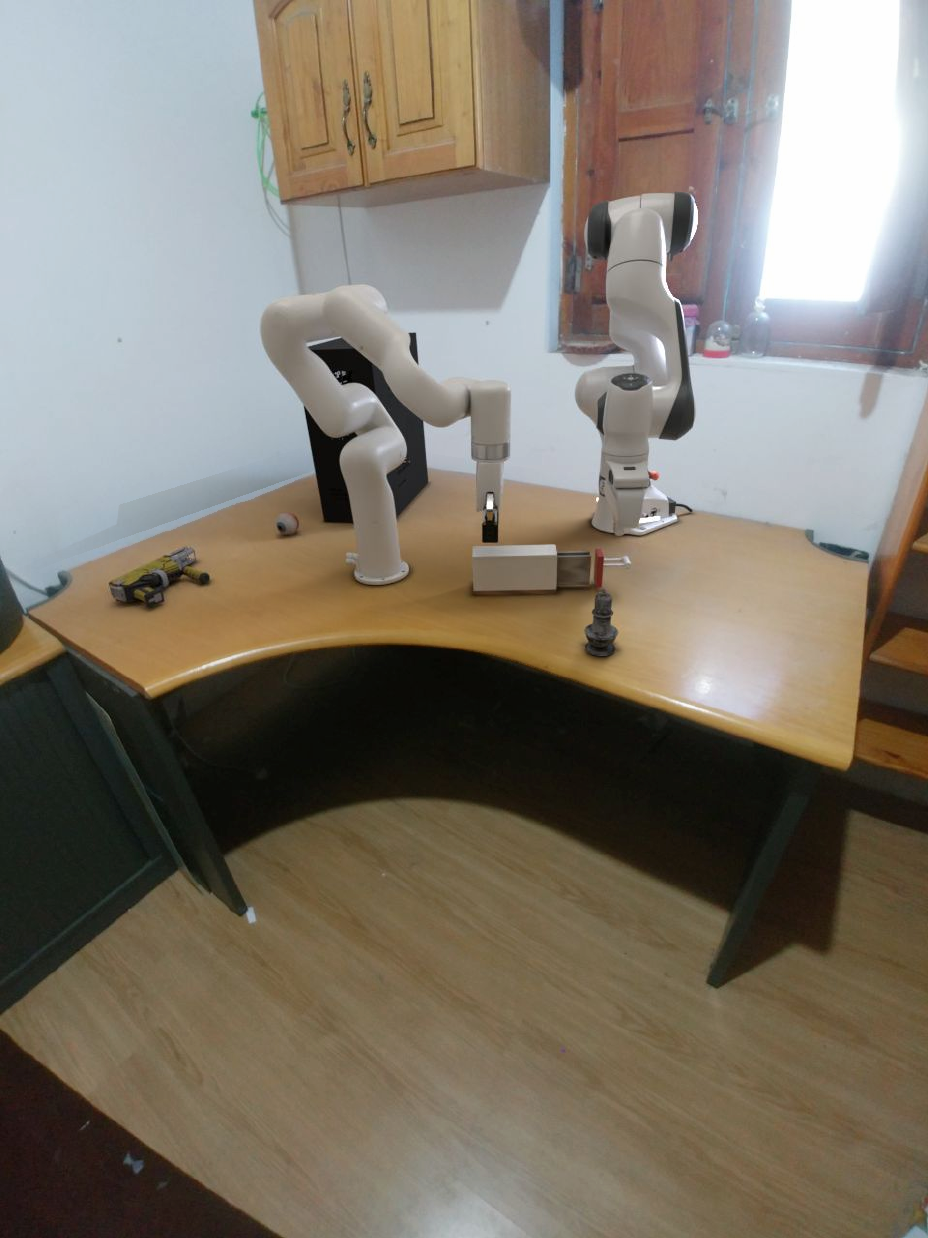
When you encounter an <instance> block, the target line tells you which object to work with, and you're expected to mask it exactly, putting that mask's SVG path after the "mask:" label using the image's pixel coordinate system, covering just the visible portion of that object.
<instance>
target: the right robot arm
mask: <svg viewBox="0 0 928 1238" xmlns="http://www.w3.org/2000/svg"><path fill="white" fill-rule="evenodd" d="M695 201H696V200H695V198H694V196H693V195H692V194H691V193H689V192H684V191H675V192H674V193H671V192H651V193H650V192H649V193H641V195H640V194H639V195H633V196H627V197H623V198H618V199H615V200H611V201H609V199H607V200H604V201H601V202H598V203H596V204H594V205H593V206H592V208H590V209H589V211H588V216H587V218H586V221H585V223H584V229H583V239H584V244H585V247H586V249H587V254H588V255H589V256H590V257H591V258H592V259H593V260H597V261H602V262H607V264H606V273H605V274H606V275H605V298H606V305H607V307H608V309H609V324H608V325H609V326H608V328H609V329H608V334H609V338H610V340H611V342H612V343H613V344H615V345H616V346H618V347H619V348H621V349H623V350H624V351H627V352H629V353H630V354H631V355H632V357H633V363H634V364H631V365H619V366H615V365H614V366H602V367H598V368H594V369H590V370H587V371H584V372H583V373H582V374H581V375H580V377H579V378H578V379H577V382H576V384H575V388H574V389H575V390H574V400H575V403H576V405H577V407H578V409H579V410H580V412H582V414H583V415H585V416H586V417H588V418H589V419H590V420H591V421H592V422H593V424H594V426H595V428H596V429H597V431H598V434H599V436H600V437H599V438H600V443H601V450H600V464H599V465H600V466H599V474H598V492H599V493H598V497H596V507H595V511H594V514H593V517H592V520H591V525H592V526H593V527H594V528H595V529H597V530H599V531H601V532H605V533H611V534H614V535H615V536H617V537H618V536H619V537H621V536H623V535H625V534H626V535H632V536H633V535H634V536H645V535H646V534H650V533H652V532H654V531H657V530H660V529H662V528H665V527H668V526H670V525H672V524H675V523H677V522H678V516H677V515H676V507H679V508H680V507H681V508H684V509H686V510H687V511H688V512H690V513H692V512H693V511H694V510H693V509H692V508H691V507H689V506H688V505H687V504H684V503H677V501H676V500H674V499H672V498H670V497H668V496H666V495H665V494H664V493H663V492H661V491H660V490H659V489H658V488H656V487H655V486H654V485H652V483H651V480H653V481H658V479H659V478H660V473H659V472H657V471H654V470H651V471H649V469H648V468H649V455H650V443H649V439H658V440H665V441H667V440H668V441H677V440H679V439H681V438H682V437H684V436H685V435H687V434H688V433H689V432H690V431H691V430H692V429H693V427H694V424H695V421H696V416H697V403H696V399H695V396H694V390H693V384H692V378H691V376H692V375H691V368H690V358H689V348H688V339H687V331H686V323H685V315H684V311H683V306H682V303H681V302H680V301H681V300H679V299H678V298H676V297H674V296H673V295H672V294H671V291H670V290H669V287H668V284H667V282H666V281H667V280H666V268H667V255H669V258H668V262H669V263H671V262H673V260H674V258H675V257H676V256H678V255H679V254H681V253H682V252H684V251H685V250H686V249H687V248H688V247H689V246H690V245H691V241H692V239H693V237H694V235H695V233H696V231H697V225H698V218H699V217H698V208H697V206H696V203H695Z"/></svg>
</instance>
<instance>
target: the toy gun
mask: <svg viewBox="0 0 928 1238" xmlns="http://www.w3.org/2000/svg"><path fill="white" fill-rule="evenodd" d="M192 554H193V556H194V558H193V557H190V555H192ZM196 561H197V556H196V551H195V549H194V548H193V547H188V546H186V545H185V546H183V547H181V548H179V549H177V550H175V551H173V552H170V553H169V554H164V555H162V556H160V557H158V558H156V559H154V560H151V561H150V562H148V563H145V564H144V565H141V566H139V567H137V568H135V569H133V570H130V571H129V572H127V573H125V574H123V575H120V576H118V577H117V578H114V579H112V580H110V581H109V582H108V587H109V589H110V595H111V597H112V599H113V600H115V602H117V603H118V602H119V603H123V602H125V603H131V602H135V601H139V600H140V601H142V602H144V603H145V605H146V608H147V609H150V608H153V607H155V606H157V605H159V604H162V603H164V602H165V597H164V593H163V589H166V588H167V587H169V584H170V582H173V581H175V580H177V579H180V578H181V577H182V576H185V577H187V578H190V579H192V580H195V581H197V582H198V581H199V582H200V583H201V584H207V583H208V582H210V577H211V576H210V573H208V572H205V571H202V570H198V569H196V568H194V567H191V566H189V565H191V564H193V563H195V562H196Z"/></svg>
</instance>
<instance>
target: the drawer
mask: <svg viewBox="0 0 928 1238" xmlns="http://www.w3.org/2000/svg"><path fill="white" fill-rule="evenodd" d="M591 565H592V555H591V551H590V550H569V551H568V550H567V551H566V550H565V551H561V550H560V551H557V581H556V587H570V586H571V587H573V586H575V587H576V586H577V587H579V586H591V585H590V584H591V583H590V582H591V568H592V567H591ZM632 567H633V565H632V563H631V560H630V558H629V556H628V555H624V556H622V557H618V558H617V557H615V558H614V557H613V558H611V557H610V558H605V556H604V552H603V550H602V548H601V547H600V548H598V547H597V548H595V550H594V565H593V581H594V585H595V589H602V588H603V578H604V576H603V574H604V568H625V570H630V569H632Z"/></svg>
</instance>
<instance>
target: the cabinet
mask: <svg viewBox="0 0 928 1238" xmlns="http://www.w3.org/2000/svg"><path fill="white" fill-rule="evenodd" d="M557 552H558V551H557V547H556V543H555V544H515V545H512V544H511V545H473V546H472V553H471V564H472V566H471V567H472V584H473V585H472V587H473V588H472V589H473V596H507V595H508V596H510V595H512V596H513V595H514V596H515V595H556V594H557V586H556V581H557Z"/></svg>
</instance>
